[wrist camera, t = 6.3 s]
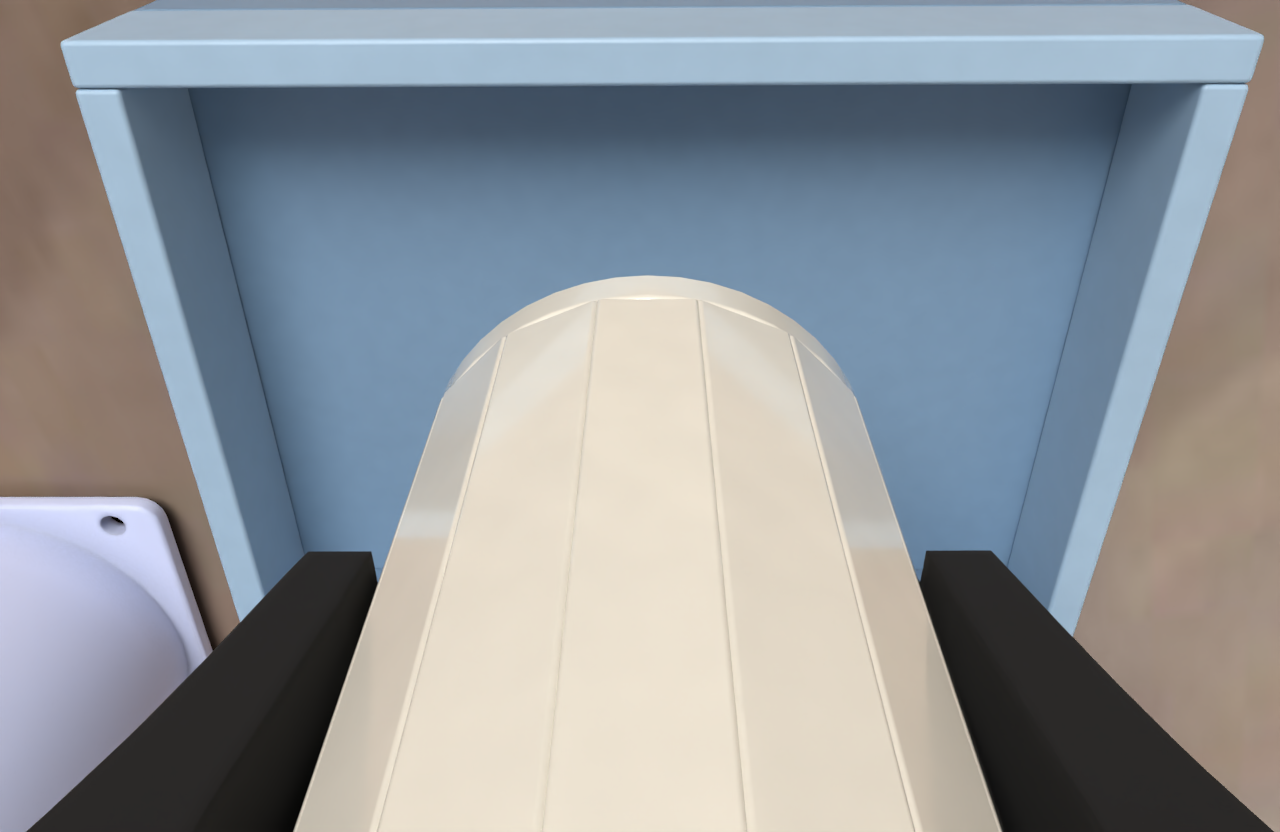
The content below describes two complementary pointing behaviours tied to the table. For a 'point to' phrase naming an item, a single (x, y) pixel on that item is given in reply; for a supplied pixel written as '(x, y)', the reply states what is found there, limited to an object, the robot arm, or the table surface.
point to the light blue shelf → (664, 228)
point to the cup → (649, 596)
